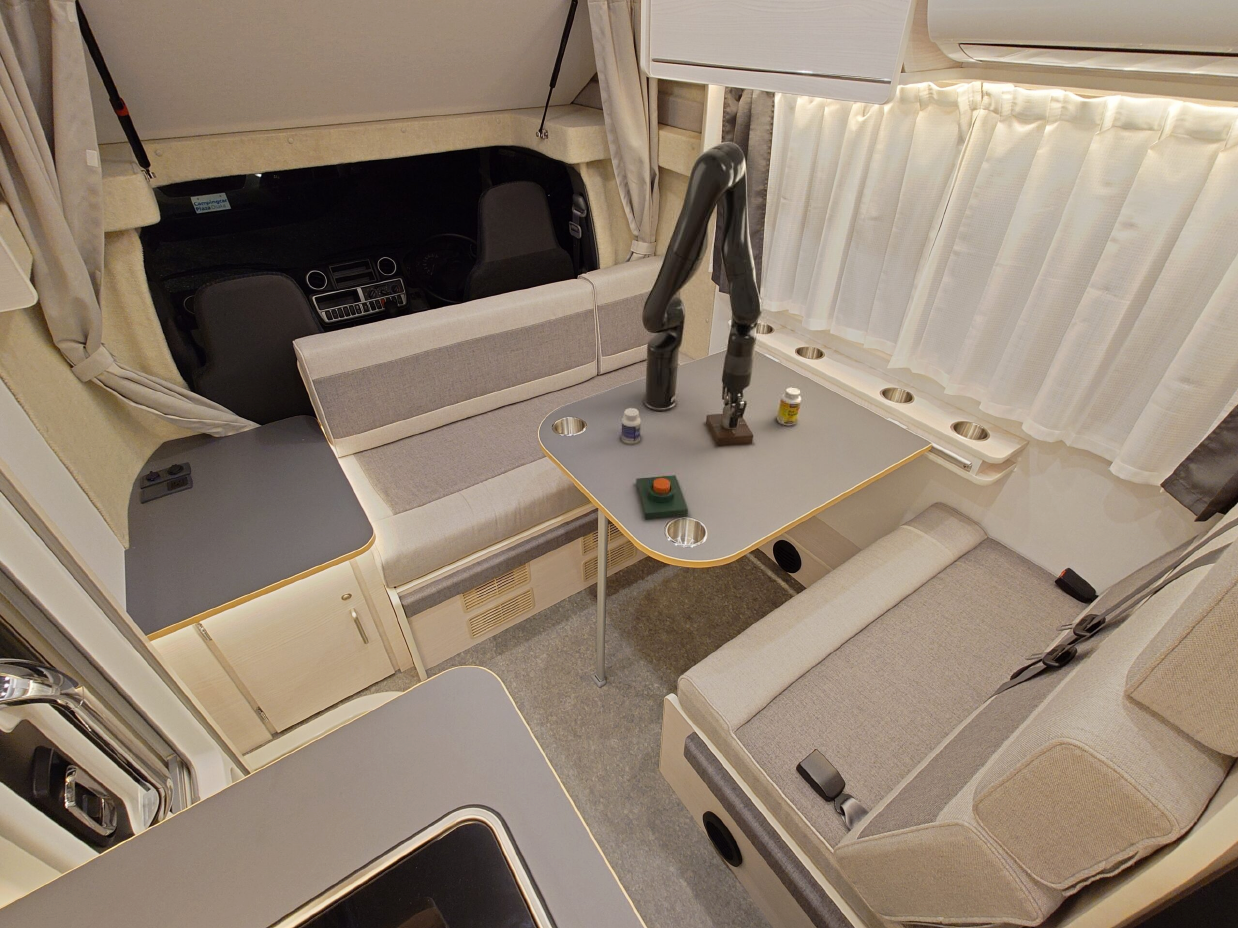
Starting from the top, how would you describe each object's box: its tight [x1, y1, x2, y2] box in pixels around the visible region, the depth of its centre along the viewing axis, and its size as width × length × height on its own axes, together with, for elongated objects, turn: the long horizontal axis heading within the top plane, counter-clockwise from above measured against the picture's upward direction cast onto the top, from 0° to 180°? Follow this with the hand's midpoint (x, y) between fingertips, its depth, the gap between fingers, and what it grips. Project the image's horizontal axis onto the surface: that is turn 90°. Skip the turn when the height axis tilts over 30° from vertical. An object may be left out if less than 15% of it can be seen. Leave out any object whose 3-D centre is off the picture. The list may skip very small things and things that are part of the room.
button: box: [653, 478, 670, 494], centre depth 133 cm, size 4×4×2 cm
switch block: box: [635, 474, 689, 521], centre depth 135 cm, size 13×10×4 cm
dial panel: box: [705, 413, 754, 448], centre depth 158 cm, size 12×10×3 cm
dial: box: [721, 405, 739, 429], centre depth 156 cm, size 5×5×5 cm
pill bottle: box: [620, 407, 642, 445], centre depth 154 cm, size 5×5×9 cm
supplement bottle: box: [776, 387, 802, 426], centre depth 162 cm, size 6×6×10 cm
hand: (729, 421), depth 157 cm, fingers closed on dial, 5 cm apart
